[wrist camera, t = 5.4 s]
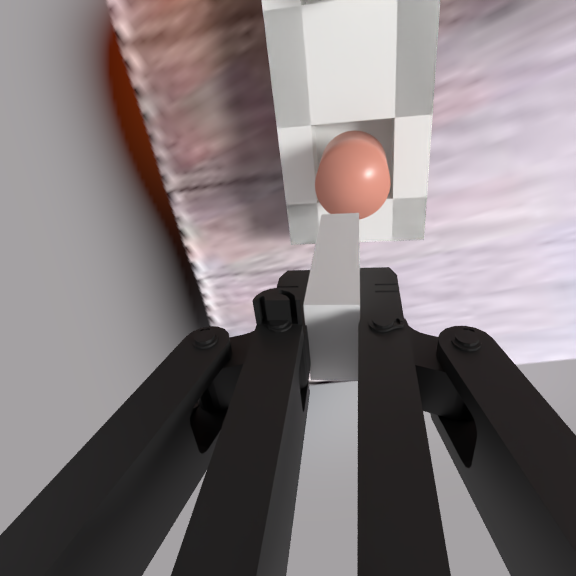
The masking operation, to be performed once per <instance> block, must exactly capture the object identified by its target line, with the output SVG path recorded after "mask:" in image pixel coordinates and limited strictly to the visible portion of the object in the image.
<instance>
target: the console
mask: <svg viewBox="0 0 576 576" xmlns="http://www.w3.org/2000/svg"><path fill="white" fill-rule="evenodd" d="M262 8H263V17H264V25H265V33H266V42H267V50H268V58H269V66H270V75H271V83H272V91H273V100H274V108H275V116H276V124H277V133H278V141H279V149H280V158H281V166H282V174H283V183H284V191H285V199H286V207H287V216H288V224H289V232H290V241H291V245H295V244H316V239H317V234H318V229H319V225H320V220H321V215H322V214H330V213H328V212H327V211H326V210H325V209H324V208H323V207H322V205H321V204H320V202H319V200H318V198H317V195H316V191H315V179H316V175H317V171H318V168H319V164H320V161H321V158H322V154H323V152H324V149H325V148H326V146H327V145H328V143H329V142H330V141H331V140H332V139H333V138H335V137H336V136H338V135H339V134H341V133H344V132H347V131H363V132H366V133H369V134H370V135H372V136H374V137H375V138H376V139H377V140H378V141H379V142H380V143H381V145H382V147H383V148H384V151H385V154H386V159H387V164H388V169H389V175H390V190H389V194H388V197H387V199H386V201H385V202H384V204H383V205H382V206H381V208H380V209H379V210H377V211H376V212H375V213H374V214H372V215H370V216H368V217H366V218H363V219H359V240H360V242H376V241H404V240H424V232H425V217H426V202H427V188H428V173H429V158H430V144H431V129H432V114H433V100H434V85H435V71H436V56H437V41H438V27H439V12H440V0H262Z"/></svg>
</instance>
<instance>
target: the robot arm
mask: <svg viewBox="0 0 576 576" xmlns="http://www.w3.org/2000/svg"><path fill="white" fill-rule="evenodd" d="M253 306H254V312H255V317H256V323H257V326H256V329H255V331H253V332H250V333H247V334H244V335H239V336H235V337H230V338H229V333H228V332H227V331H226V330H225V329H223V328H220V327H213V326H209V327H204V328H200V329H198V330H196V331H193V332H191V333H190V334H189V335H188V336H186V337H185V338H184V339H183V340H182V342H181V343H180V344H179V345H178V346H177V347H176V348H175V349H174V350H173V351H172V352H171V353H170V354H169V355H168V357H167V358H166V359H165V360H164V361H163V362H162V363H161V364H160V365H159V366H158V367H157V368H156V369H155V371H154V372H153V373H152V374H151V375H150V376H149V377H148V378H147V379H146V380H145V381H144V382H143V383H142V384H141V385H140V387H139V388H138V389H137V390H136V391H135V392H134V393H133V394H132V395H131V396H130V397H129V398H128V399H127V400H126V401H125V402H124V404H123V405H122V406H121V407H120V408H119V409H118V410H117V411H116V412H115V413H114V414H113V415H112V417H111V418H110V419H109V420H108V421H107V422H106V423H105V424H104V425H103V426H102V427H101V428H100V429H99V430H98V432H97V433H96V434H95V435H94V436H93V437H92V438H91V439H90V440H89V441H88V442H87V443H86V444H85V446H83V448H82V449H81V450H80V451H79V452H78V453H77V454H76V455H75V456H74V457H73V458H72V459H71V460H70V462H69V463H67V465H66V466H65V467H64V468H63V469H62V470H61V471H60V472H59V473H58V474H57V475H56V476H55V477H54V478H53V480H52V481H51V482H50V483H49V484H48V485H47V486H46V487H45V488H44V489H43V490H42V491H41V492H40V493H39V495H38V496H37V497H36V498H35V499H34V500H33V501H32V502H31V503H30V504H29V505H28V506H27V507H26V508H25V510H24V511H23V512H22V513H21V514H20V515H19V516H18V517H17V518H16V519H15V520H14V521H13V522H12V524H11V525H10V526H9V527H8V528H7V529H6V530H5V531H4V532H3V533H2V534H1V535H0V576H142V575H143V573H144V571H145V570H146V568H147V566H148V565H149V563H150V561H151V560H152V558H153V557H154V555H155V553H156V551H157V550H158V549H159V547H160V545H161V544H162V542H163V540H164V539H165V537H166V535H167V534H168V532H169V531H170V529H171V527H172V526H173V524H174V522H175V521H176V519H177V518H178V516H179V514H180V512H181V511H182V509H183V508H184V506H185V504H186V503H187V501H188V500H189V498H190V496H191V495H192V493H193V491H194V490H195V488H196V487H197V485H198V483H199V482H200V480H201V478H202V477H203V475H204V473H205V472H206V470H207V472H206V475H205V478H204V481H203V483H202V487H201V489H200V493H199V495H198V498H197V501H196V504H195V507H194V510H193V513H192V516H191V518H190V521H189V525H188V527H187V530H186V533H185V536H184V539H183V542H182V545H181V548H180V551H179V553H178V556H177V559H176V563H175V565H174V568H173V571H172V574H171V576H286V572H287V564H288V557H289V549H290V541H291V533H292V526H293V518H294V510H295V502H296V495H297V486H298V479H299V472H300V464H301V456H302V449H303V440H304V433H305V425H306V418H307V410H308V402H309V394H310V390H309V381H308V380H309V373H310V376H311V380H342V381H358V576H451V574H450V568H449V563H448V556H447V551H446V546H445V539H444V533H443V527H442V521H441V515H440V509H439V503H438V497H437V491H436V485H435V480H434V474H433V468H432V462H431V456H430V450H429V444H428V438H427V432H426V427H425V421H424V415H423V411H426V412H429V413H430V414H431V418H432V420H433V423H434V424H435V426H436V428H437V430H438V432H439V434H440V436H441V438H442V440H443V442H444V444H445V446H446V448H447V450H448V452H449V454H450V456H451V458H452V460H453V462H454V464H455V466H456V468H457V470H458V472H459V474H460V476H461V478H462V480H463V482H464V484H465V486H466V488H467V490H468V492H469V494H470V496H471V498H472V500H473V502H474V504H475V505H476V508H477V510H478V511H479V514H480V516H481V518H482V519H483V522H484V524H485V526H486V528H487V529H488V531H489V533H490V535H491V537H492V539H493V541H494V543H495V545H496V547H497V549H498V551H499V553H500V555H501V557H502V559H503V561H504V563H505V565H506V567H507V569H508V571H509V573H510V575H511V576H576V435H575V434H574V433H573V432H572V431H571V429H570V428H569V427H568V426H567V425H566V424H565V423H564V421H563V420H562V419H561V418H560V417H559V416H558V414H557V413H556V412H555V411H554V410H553V408H552V407H551V406H550V405H549V404H548V403H547V401H546V400H545V399H544V398H543V397H542V396H541V394H540V393H539V392H538V391H537V390H536V389H535V387H534V386H533V385H532V384H531V383H530V382H529V380H528V379H527V378H526V377H525V376H524V374H523V373H522V372H521V371H520V370H519V369H518V367H517V366H516V365H515V364H514V363H513V362H512V360H511V359H510V358H509V357H508V356H507V355H506V353H505V352H504V351H503V350H502V349H501V348H500V346H499V345H498V344H497V343H496V342H495V340H494V339H493V338H492V337H491V336H489V335H488V334H487V333H486V332H484V331H481V330H479V329H477V328H473V327H468V326H453V327H450V328H446V329H445V330H443V331H442V332H441V333H440V334H439V337H435V336H431V335H427V334H423V333H420V332H418V331H416V330H414V329H412V328H411V327H410V326H408V323H407V321H406V319H404V317H403V310H402V304H401V298H400V292H399V286H398V280H397V275H396V274H395V273H394V272H393V271H392V270H391V269H390V268H389V267H385V268H360V240H359V213H343V214H322V215H321V220H320V225H319V229H318V234H317V239H316V244H315V249H314V254H313V259H312V264H311V269H310V270H293V271H287V272H286V273H284V274H283V275H282V276H281V277H280V278H279V281H278V284H277V288H273V289H269V290H266V291H263V292H261V293H260V294H258V295H256V297H255V298H254V299H253Z"/></svg>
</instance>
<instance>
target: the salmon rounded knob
mask: <svg viewBox="0 0 576 576" xmlns="http://www.w3.org/2000/svg"><path fill="white" fill-rule="evenodd" d="M389 190H390V175H389V169H388V164H387V159H386V154H385V151H384V148H383V147H382V145H381V143H380V142H379V141H378V140H377V139H376V138H375V137H374V136H372V135H370V134H369V133H366V132H363V131H347V132H344V133H341V134H339V135H338V136H336V137H335V138H333V139H332V140H331V141H330V142H329V143H328V145H327V146H326V148H325V149H324V152H323V154H322V158H321V161H320V164H319V168H318V171H317V175H316V179H315V191H316V195H317V198H318V200H319V202H320V204H321V205H322V207H323V208H324V209H325V210H326V211H327V212H328V213H330V214H343V213H359V219H363V218H366V217H368V216H370V215H372V214H374V213H375V212H376V211H377V210H379V209H380V208H381V206H382V205H383V204H384V202H385V201H386V199H387V197H388V194H389Z"/></svg>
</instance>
